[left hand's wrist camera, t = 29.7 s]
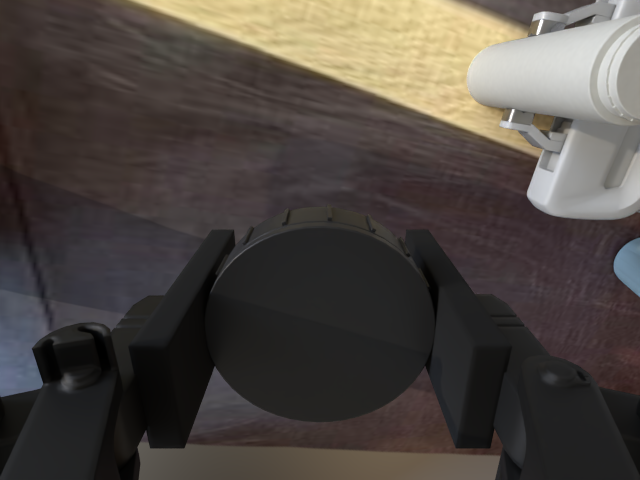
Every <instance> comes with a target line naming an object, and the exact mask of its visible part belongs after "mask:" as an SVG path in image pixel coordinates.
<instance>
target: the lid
mask: <svg viewBox="0 0 640 480" xmlns="http://www.w3.org/2000/svg"><path fill="white" fill-rule="evenodd" d="M216 275H218V277H217V279H216V281H215V283H214V285H213V287H212V290H211V292H210V294H209V297H208V301H207V304H206V309H205V316H204V325H205V334H206V341H207V347H208V350H209V353H210V356H211V359H212V361H213V363H214V364H215V366H216V368H217V370H218V371H219V373H220V374H221V376H222V377H223V379H224V380H225V381H226V382H227V383H228V384H229V385H230V386H231V387H232V389H234V390H235V391H236V392H237V393H238V394H239V395H241V396H242V397H243V398H245V399H246V400H247V401H249V402H250V403H252V404H253V405H255V406H257V407H259V408H261V409H263V410H265V411H267V412H270V413H273V414H275V415H278V416H281V417H285V418H289V419H293V420H299V421H307V422H333V421H341V420H347V419H351V418H355V417H359V416H362V415H365V414H368V413H370V412H373V411H375V410H377V409H379V408H381V407H383V406H385V405H386V404H388V403H389V402H391V401H393V400H394V399H395V398H397V397H398V396H399V395H401V394H402V393H403V392H404V391H405V390H406V389H407V388H408V387H409V386H410V385H411V384H412V383H413V382H414V381H415V379H416V378H417V377H418V376H419V374H420V373H421V371H422V370H423V368H424V366H425V364H426V363H427V361H428V358H429V356H430V353H431V351H432V347H433V343H434V336H435V327H436V318H435V309H434V305H433V301H432V297H431V295H430V292H429V290H430V289H431V288H430V286H429V284H428V282H427V280H426V278H425V276H424V274H423V273H422V271H421V269H420V268H419V269H418V268H417V266H416V264H415V262H414V260H413V258H412V257H411V254H410V252H409V250H408V249H407V247H406V245H405V243H404V241H403V239H402V238H401V237H400V238H399V239H398V238H397V237H396V236H395V235H394V234H393V233H391V232H390V231H389V230H388V229H386V228H385V227H384V226H382V225H381V224H379V223H378V222H376V221H374V220H373V219H372V217H371V216H370V215H367V217H366V216H364V215H361V214H358V213H355V212H352V211H348V210H344V209H339V208H331V205H327V207H308V208H302V209H296V210H291V211H289V209H285V212H284V213H281V214H279V215H276V216H274V217H272V218H270V219H268V220H266V221H264V222H262V223H261V224H259V225H258V226H256V227H255V228H253V227H252V226H251V227H250V228H249V230H248V232H247V234H246V235H245V236H244V237H243V238H242V239H241V240H240V241H239V242H238V244H237V245H236V246H235V247H234V249H233V250H232V252H231V253H230V255H227V254H226V256H225V257H224V259H223V261H222V263H221V265H220V267H219V269H218V270H217V272H216Z"/></svg>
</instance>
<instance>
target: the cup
mask: <svg viewBox="0 0 640 480" xmlns="http://www.w3.org/2000/svg"><path fill="white" fill-rule="evenodd" d="M614 272H615V274H616V275H617V277H618V278H619V279H620V280H621V281H622V282H623V283H624V284H625V285H627V286H628V287H629V288H630V289H631V290H632V291H633V292H634V293H636V294H637V295H638V296H639V297H640V238H637V239H634V240H632V241H630V242H629V243H627V244H626V245H625V246H624V247H623V248H622V249H621V250H620V251H619V252H618V254H617V256H616V258H615V260H614Z"/></svg>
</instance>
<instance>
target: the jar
mask: <svg viewBox="0 0 640 480" xmlns="http://www.w3.org/2000/svg"><path fill="white" fill-rule="evenodd" d="M467 86H468V90H469V92H470V94H471V96H472V97H473V98H474V100H476V101H477V102H478V103H480V104H482V105H485V106H491V107H498V108H504V109H505V108H510V109H516V110H520V111H524V112H531V113H538V114H544V115H551V116H558V117H565V118H571V119H578V120H585V121H591V122H598V123H605V124H611V125H618V126H635V125H640V14H638V15H633V16H628V17H624V18H619V19H614V20H609V21H604V22H600V23H595V24H590V25H585V26H580V27H575V28H571V29H566V30H561V31H556V32H551V33H547V34H542V35H537V36H532V37H527V38H523V39H518V40H513V41H508V42H503V43H498V44H494V45H491V46H488V47H486V48H485V49H483V50H482V51H480V52H479V53H478V54H477V55H476V57H475V58H474V59H473V61H472V62H471V64H470V67H469V69H468V73H467Z"/></svg>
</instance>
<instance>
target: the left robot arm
mask: <svg viewBox="0 0 640 480" xmlns="http://www.w3.org/2000/svg"><path fill="white" fill-rule="evenodd" d="M405 245H406V247H407V249H408V250H409V252H410V254H411V257H412V258H413V260H414V262H415V264H416V266H417V268H418V269H419V268H420V269H421V271H422V273H423V274H424V276H425V278H426V280H427V282H428V284H429V286H430V288H431V289H430V290H429V292H430V295H431V297H432V301H433V305H434V309H435V318H436V327H435V336H434V343H433V347H432V351H431V353H430V356H429V358H428V361H427V363H426V364H425V366H426V369H427V371H428V374H429V377H430V380H431V382H432V385H433V388H434V390H435V393H436V396H437V398H438V401H439V404H440V407H441V409H442V412H443V415H444V417H445V420H446V423H447V426H448V428H449V431H450V434H451V436H452V439H453V442H454V445H455V447H456V448H490V447H491V442H492V437H493V433H494V428H495V430H496V432H497V434H498V436H499V438H500V440H501V442H502V444H503V448H502V453H501V457H500V461H499V466H498V470H497V474H496V479H495V480H640V396H639V395H634V394H630V393H625V392H620V391H615V390H611V389H606V388H602V387H599V386H598V385H597V383H596V382H595V380H594V379H593V378H592V376H591V375H590V374H589V373H587V372H586V371H585V370H583V369H582V368H581V367H579V366H578V365H576V364H573V363H571V362H569V361H567V360H565V359H561V358H558V357H554V356H550V355H549V353H548V352H547V351H546V350H545V349H544V347H543V346H542V345H541V344H540V343H539V341H538V340H537V339H536V338H535V337H534V335H533V334H532V333H531V332H530V331H529V329H528V328H527V327H524V323H523V322H522V321H521V320H520V319H519V318H518V317H517V316H516V314H515V313H514V312H513V310H512V309H511V308H510V307H509V306H508V304H506V303H505V302H503V301H502V300H500V299H498V298H497V297H495V296H494V295H492V294H474V293H473V291H472V290H471V289H470V287H469V286H468V284H467V283H466V282H465V280H464V279H463V277H462V276H461V275H460V273H459V272H458V271H457V269H456V268H455V266H454V265H453V264H452V262H451V261H450V259H449V258H448V257H447V255H446V254H445V253H444V251H443V250H442V248H441V247H440V246H439V244H438V243H437V242H436V240H435V239H434V237H433V236H432V235H431V233H430V232H429V230H406V239H405ZM234 247H235V236H234V230H212V231H211V232H210V234H209V235H208V236H207V238H206V239H205V240H204V242H203V243H202V245H201V246H200V247H199V249H198V250H197V252H196V253H195V254H194V256H193V257H192V258H191V260H190V261H189V263H188V264H187V265H186V267H185V268H184V270H183V271H182V272H181V274H180V275H179V276H178V278H177V279H176V281H175V282H174V283H173V285H172V286H171V288H170V289H169V290H168V292H167V293H166V294H165V296H147V297H146V298H144V299H143V300H141V301H139V302H138V303H136V304H135V305H133V306H132V308H131V309H130V310H129V311H128V312H127V314H126V315H125V316H124V319H122V320H121V321H120V322H119V323H118V324H117V326H116V328H114V329H113V330H112V332H110V329H109V328H108V327H106V326H105V325H104V324H99V323H94V322H91V323H79V324H75V325H70V326H66V327H63V328H61V329H59V330H56V331H54V332H51V333H50V334H48V335H47V336H45V337H44V338H42V339H40V340H39V341H38V342H37V343H36V344H35V346H34V347H33V348H32V350H33V353H34V356H35V359H36V362H37V366H38V369H39V372H40V375H41V378H42V381H43V386H42V388H41V389H37V390H33V391H28V392H24V393H19V394H14V395H10V396H5V397H0V480H138V479H139V471H140V458H139V453H138V448H137V447H138V445H139V443H140V441H141V439H142V437H143V435H144V433H145V431H146V432H147V436H148V441H149V445H150V448H185V445H186V443H187V440H188V437H189V434H190V432H191V429H192V426H193V424H194V421H195V418H196V415H197V413H198V410H199V407H200V405H201V402H202V399H203V396H204V394H205V391H206V388H207V386H208V383H209V380H210V377H211V375H212V372H213V369H214V367H215V364H214V363H213V361H212V359H211V356H210V353H209V350H208V347H207V341H206V334H205V325H204V316H205V309H206V304H207V301H208V297H209V294H210V292H211V290H212V287H213V285H214V283H215V281H216V279H217V277H218V275H216V272H217V270H218V269H219V267H220V265H221V263H222V261H223V259H224V257H225V256H226V254H227V255H230V253H231V252H232V250H233V249H234Z"/></svg>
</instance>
